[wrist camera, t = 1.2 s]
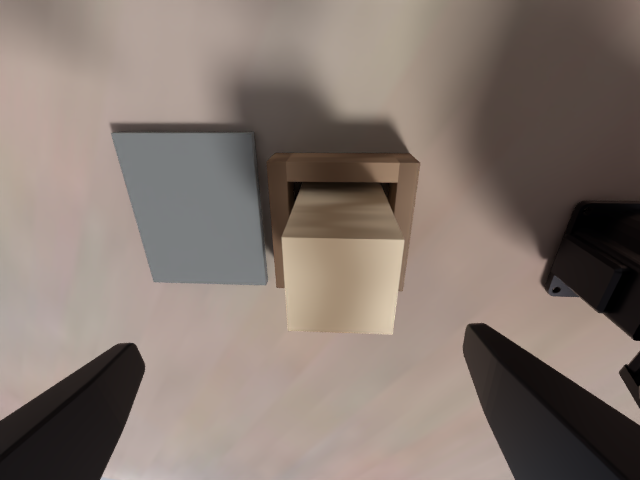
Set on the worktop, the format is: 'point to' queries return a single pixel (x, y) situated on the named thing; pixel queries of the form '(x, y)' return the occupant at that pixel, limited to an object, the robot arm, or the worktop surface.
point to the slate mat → (196, 204)
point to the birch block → (342, 259)
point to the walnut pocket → (341, 168)
